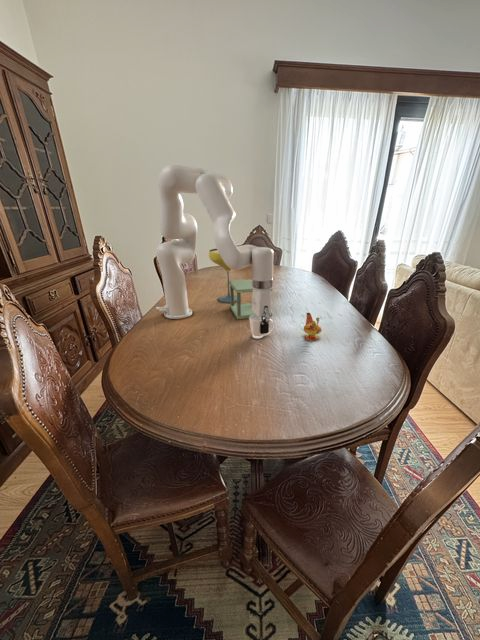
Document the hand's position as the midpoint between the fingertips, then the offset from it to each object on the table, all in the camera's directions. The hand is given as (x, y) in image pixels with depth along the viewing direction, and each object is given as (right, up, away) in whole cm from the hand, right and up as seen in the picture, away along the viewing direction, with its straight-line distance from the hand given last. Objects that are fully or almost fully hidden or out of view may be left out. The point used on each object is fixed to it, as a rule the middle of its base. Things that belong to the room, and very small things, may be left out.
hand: (261, 329), depth 111 cm
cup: (0, -3, +2) cm, 3 cm away
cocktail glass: (-18, +19, +42) cm, 49 cm away
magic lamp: (+20, -3, +3) cm, 20 cm away
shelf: (-6, +10, +26) cm, 28 cm away
